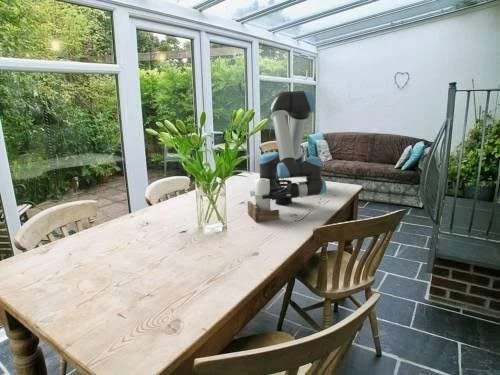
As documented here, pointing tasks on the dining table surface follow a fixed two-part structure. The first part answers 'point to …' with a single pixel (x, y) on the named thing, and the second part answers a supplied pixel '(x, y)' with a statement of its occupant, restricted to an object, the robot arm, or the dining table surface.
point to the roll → (262, 188)
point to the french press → (276, 183)
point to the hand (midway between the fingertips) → (252, 195)
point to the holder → (261, 214)
